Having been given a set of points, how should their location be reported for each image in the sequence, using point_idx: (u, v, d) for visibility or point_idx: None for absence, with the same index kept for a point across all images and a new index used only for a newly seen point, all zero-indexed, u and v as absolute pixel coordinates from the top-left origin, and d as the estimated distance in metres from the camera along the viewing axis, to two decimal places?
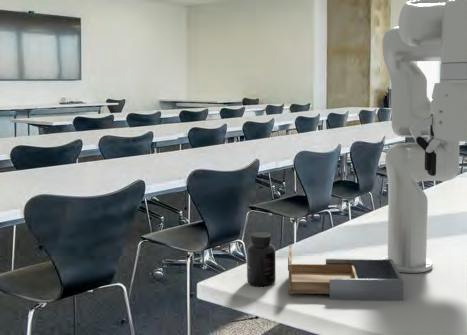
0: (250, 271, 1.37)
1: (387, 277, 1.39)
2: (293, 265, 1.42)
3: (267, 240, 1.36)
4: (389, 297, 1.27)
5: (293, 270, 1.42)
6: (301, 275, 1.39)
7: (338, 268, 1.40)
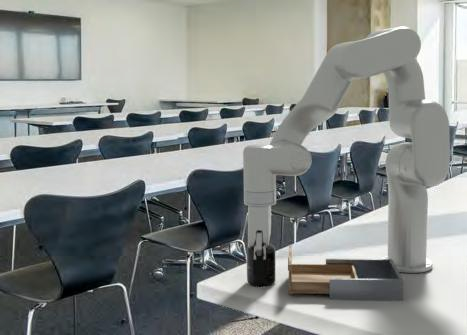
0: (250, 271, 1.37)
1: (387, 277, 1.39)
2: (293, 265, 1.42)
3: None
4: (389, 297, 1.27)
5: (293, 270, 1.42)
6: (301, 275, 1.39)
7: (338, 268, 1.40)
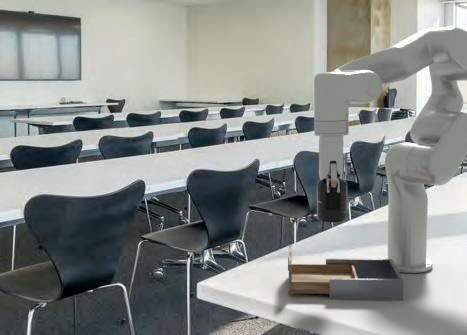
0: (321, 206, 1.31)
1: (387, 277, 1.39)
2: (293, 265, 1.42)
3: None
4: (389, 297, 1.27)
5: (293, 270, 1.42)
6: (301, 275, 1.39)
7: (338, 268, 1.40)
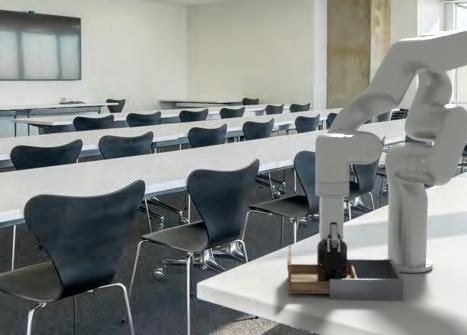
0: (321, 268, 1.33)
1: (387, 277, 1.39)
2: (293, 265, 1.42)
3: None
4: (389, 297, 1.27)
5: (293, 270, 1.42)
6: (301, 275, 1.39)
7: None
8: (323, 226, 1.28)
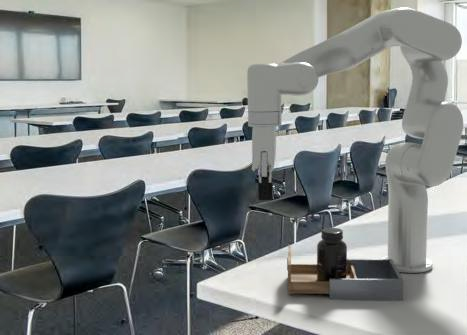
0: (321, 268, 1.33)
1: (387, 277, 1.39)
2: (292, 265, 1.42)
3: (339, 236, 1.32)
4: (389, 297, 1.27)
5: (292, 270, 1.42)
6: (300, 275, 1.39)
7: None
8: (253, 155, 1.28)
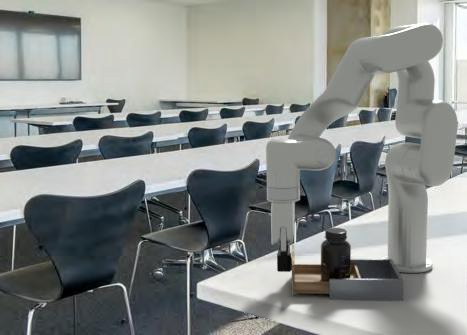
0: (325, 268, 1.33)
1: (387, 277, 1.39)
2: (296, 265, 1.41)
3: (343, 236, 1.32)
4: (389, 297, 1.27)
5: (296, 270, 1.42)
6: (304, 275, 1.39)
7: None
8: (273, 231, 1.30)
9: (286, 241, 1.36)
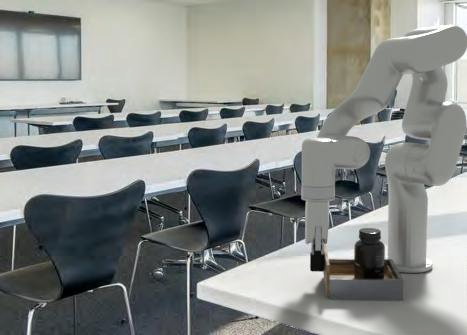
0: (359, 269, 1.32)
1: None
2: None
3: (378, 236, 1.31)
4: (389, 297, 1.27)
5: None
6: (336, 275, 1.38)
7: None
8: (308, 230, 1.29)
9: None
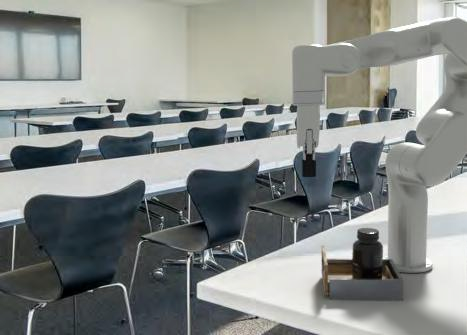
0: (357, 269, 1.32)
1: None
2: None
3: (376, 236, 1.31)
4: (389, 297, 1.27)
5: None
6: (334, 275, 1.38)
7: None
8: (299, 133, 1.32)
9: None
